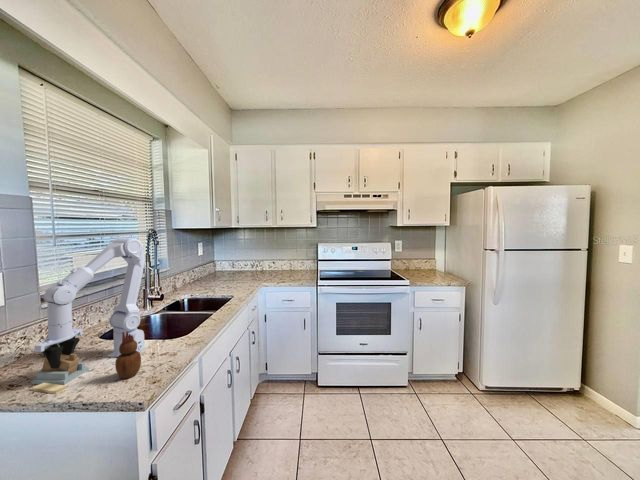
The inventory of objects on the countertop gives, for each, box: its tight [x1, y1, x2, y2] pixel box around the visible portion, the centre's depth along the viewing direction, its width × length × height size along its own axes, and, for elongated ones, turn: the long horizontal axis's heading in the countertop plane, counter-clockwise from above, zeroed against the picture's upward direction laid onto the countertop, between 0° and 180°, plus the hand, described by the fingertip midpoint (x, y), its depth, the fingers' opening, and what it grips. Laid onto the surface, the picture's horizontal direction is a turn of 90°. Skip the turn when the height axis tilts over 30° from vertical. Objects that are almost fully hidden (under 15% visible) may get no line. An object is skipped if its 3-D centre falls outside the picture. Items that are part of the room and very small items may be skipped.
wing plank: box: [31, 383, 68, 395], centre depth 83 cm, size 9×3×1 cm, turn 79°
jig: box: [31, 361, 90, 386], centre depth 90 cm, size 10×9×3 cm
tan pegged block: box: [41, 352, 80, 376], centre depth 90 cm, size 8×4×6 cm, turn 90°
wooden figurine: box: [114, 332, 142, 379], centre depth 91 cm, size 7×6×15 cm
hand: (61, 364), depth 90 cm, fingers closed on tan pegged block, 3 cm apart
